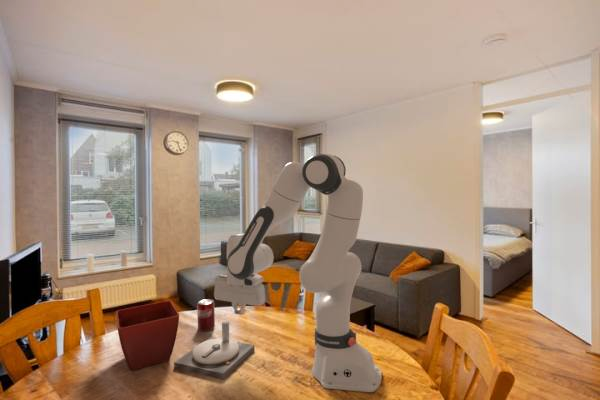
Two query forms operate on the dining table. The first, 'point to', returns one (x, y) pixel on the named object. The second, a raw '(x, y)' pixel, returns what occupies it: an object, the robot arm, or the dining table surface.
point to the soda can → (206, 315)
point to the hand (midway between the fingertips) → (239, 313)
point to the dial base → (214, 369)
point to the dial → (216, 348)
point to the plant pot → (147, 333)
